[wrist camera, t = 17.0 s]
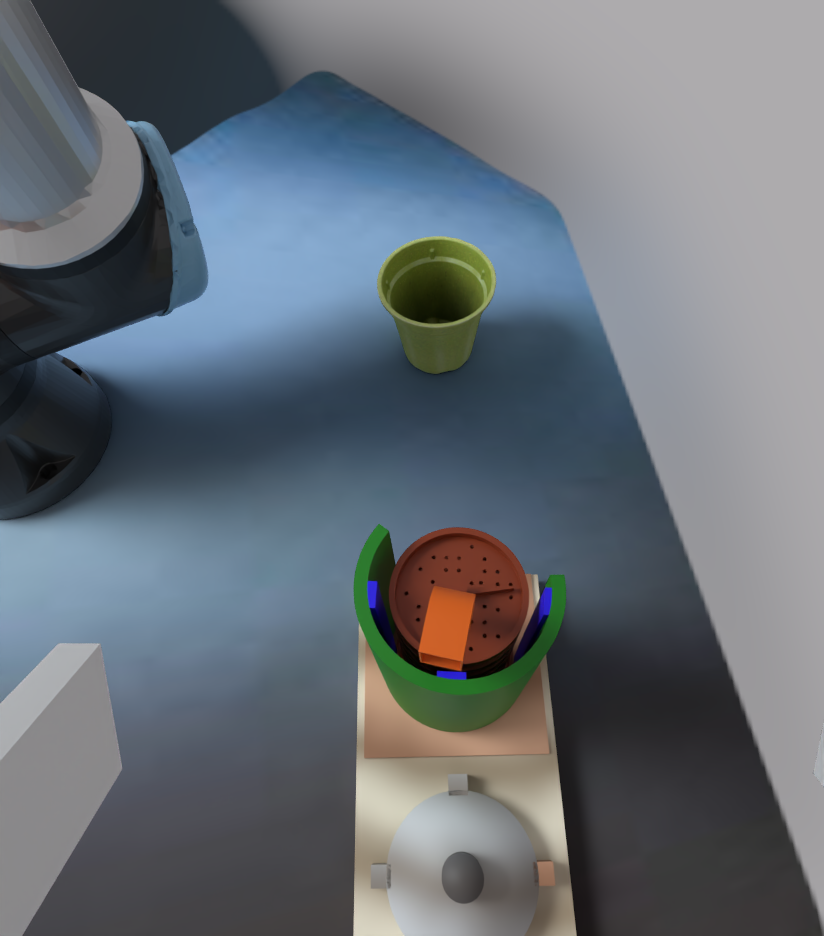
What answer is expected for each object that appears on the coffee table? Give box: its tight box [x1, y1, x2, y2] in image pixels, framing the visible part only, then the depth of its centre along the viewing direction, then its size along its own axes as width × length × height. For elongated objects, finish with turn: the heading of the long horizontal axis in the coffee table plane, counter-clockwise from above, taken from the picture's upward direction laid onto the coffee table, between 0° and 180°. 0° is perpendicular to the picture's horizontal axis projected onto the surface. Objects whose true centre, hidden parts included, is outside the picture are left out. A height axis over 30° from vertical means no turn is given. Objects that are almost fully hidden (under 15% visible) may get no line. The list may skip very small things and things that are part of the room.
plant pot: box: [377, 236, 496, 374], centre depth 55 cm, size 9×9×9 cm
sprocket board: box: [354, 574, 577, 936], centre depth 42 cm, size 24×13×4 cm, turn 1°
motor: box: [354, 524, 566, 732], centre depth 36 cm, size 10×9×20 cm
